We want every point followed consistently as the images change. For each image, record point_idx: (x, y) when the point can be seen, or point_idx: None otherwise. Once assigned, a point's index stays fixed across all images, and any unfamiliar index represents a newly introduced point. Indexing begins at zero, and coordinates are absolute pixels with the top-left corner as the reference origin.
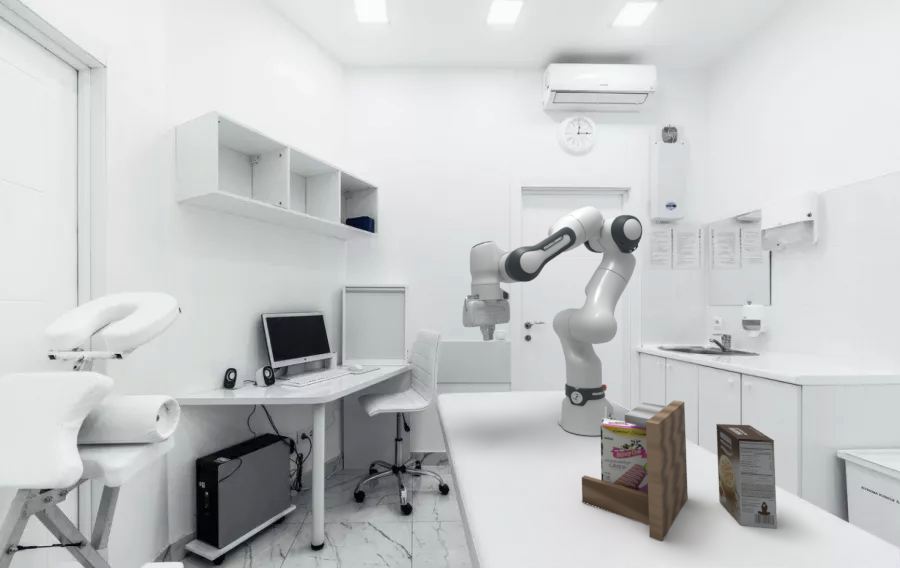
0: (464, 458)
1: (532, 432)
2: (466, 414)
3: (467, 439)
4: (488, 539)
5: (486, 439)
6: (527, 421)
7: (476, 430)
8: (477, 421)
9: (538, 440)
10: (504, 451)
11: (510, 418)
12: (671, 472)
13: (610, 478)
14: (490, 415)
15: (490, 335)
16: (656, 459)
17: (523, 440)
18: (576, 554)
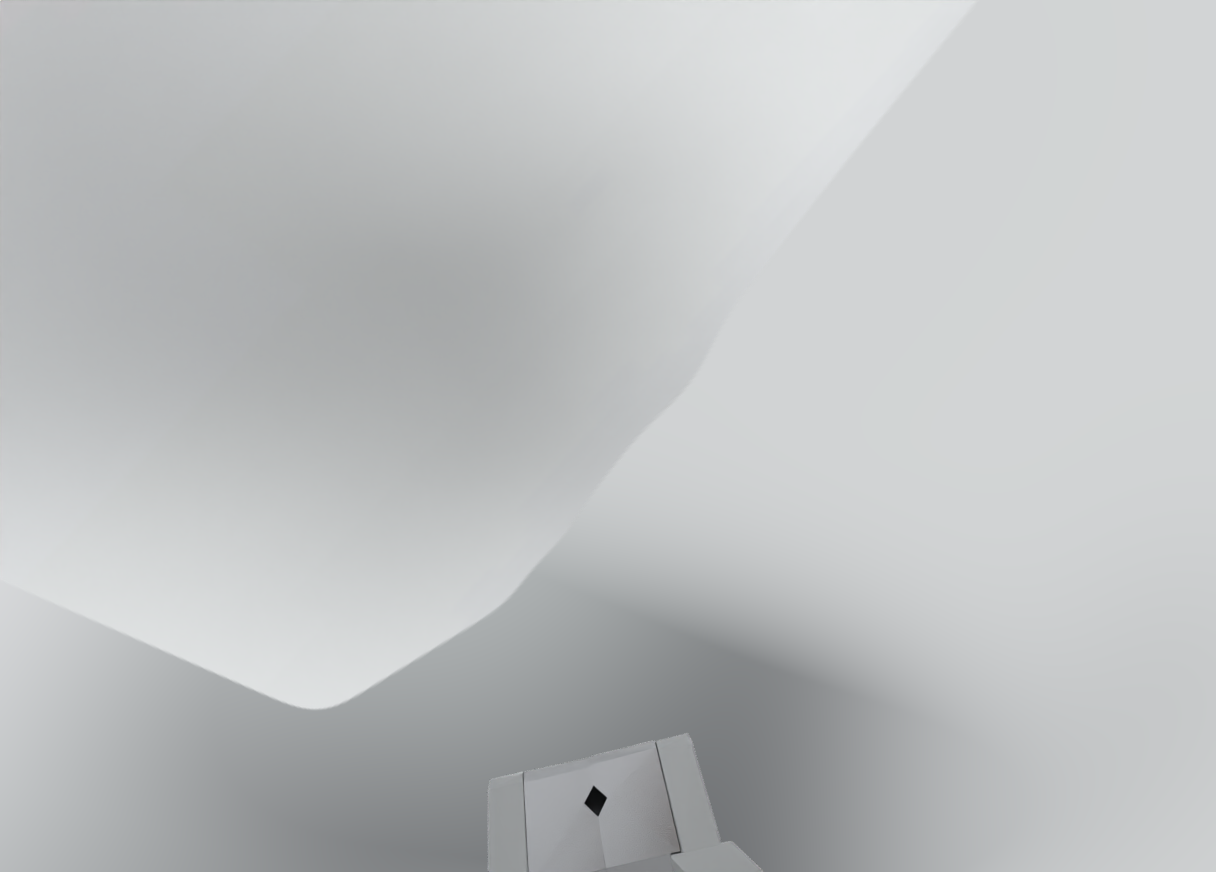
0: (820, 151)
1: (190, 190)
2: (342, 647)
3: (611, 352)
4: None
5: (530, 287)
6: (70, 367)
7: (474, 428)
8: (367, 534)
9: (263, 48)
10: (588, 69)
11: (143, 471)
12: None
13: None
14: (226, 573)
15: (606, 843)
16: None
17: (354, 122)
18: None
